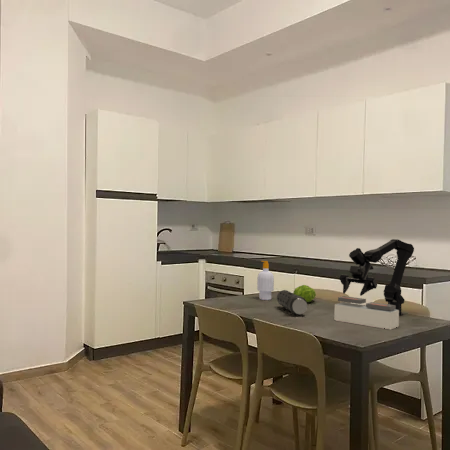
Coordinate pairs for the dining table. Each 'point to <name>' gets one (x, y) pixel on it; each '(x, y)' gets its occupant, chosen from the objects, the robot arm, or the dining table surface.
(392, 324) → the switch block
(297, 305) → the grey foam roller
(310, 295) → the lettuce
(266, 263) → the soap bottle
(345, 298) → the key
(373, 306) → the key
